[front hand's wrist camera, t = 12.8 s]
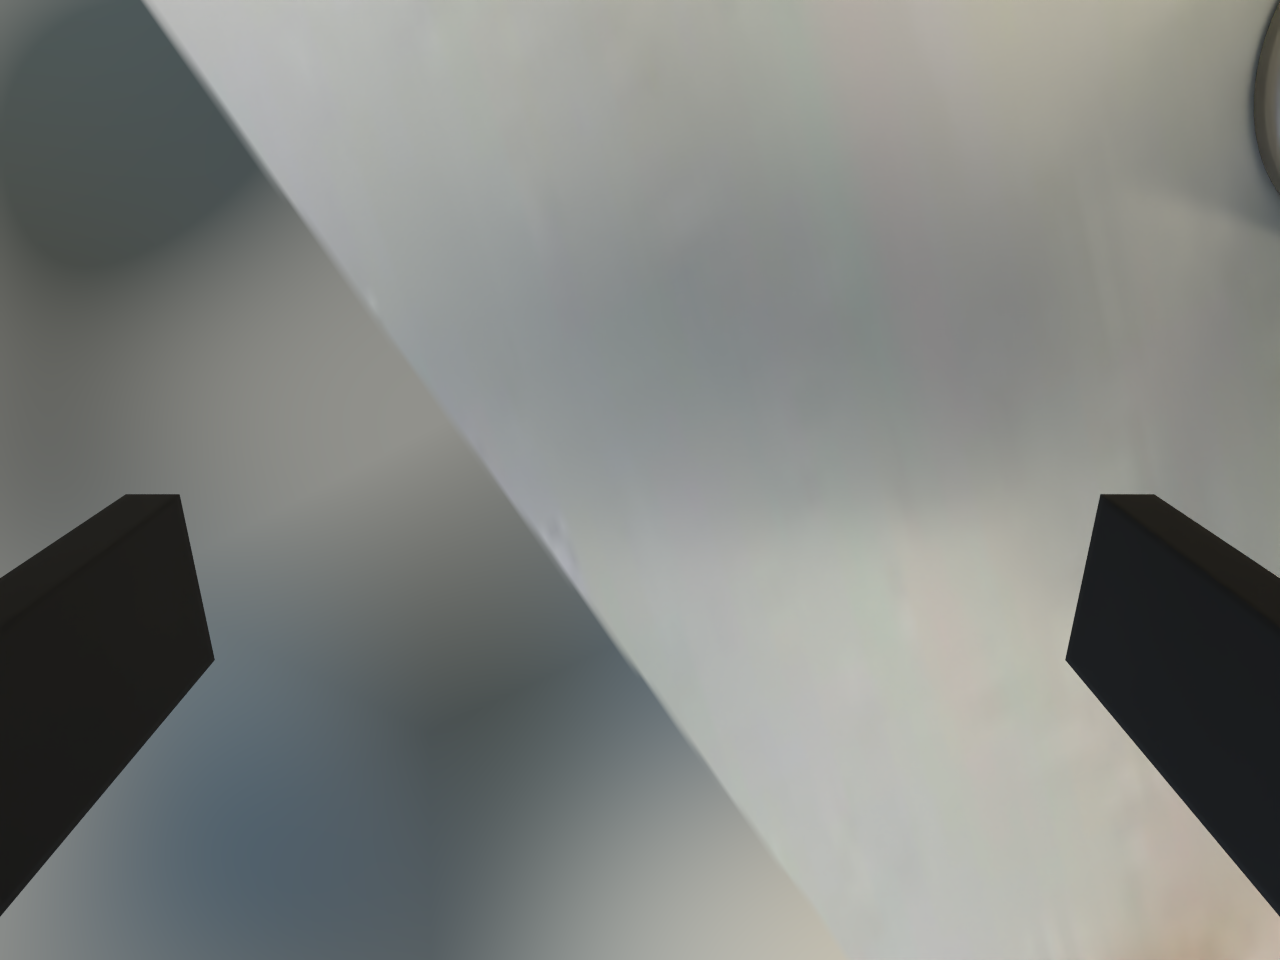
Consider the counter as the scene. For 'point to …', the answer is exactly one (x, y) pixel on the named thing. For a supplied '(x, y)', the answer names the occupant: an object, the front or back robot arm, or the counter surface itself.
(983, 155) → the counter surface
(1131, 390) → the counter surface
